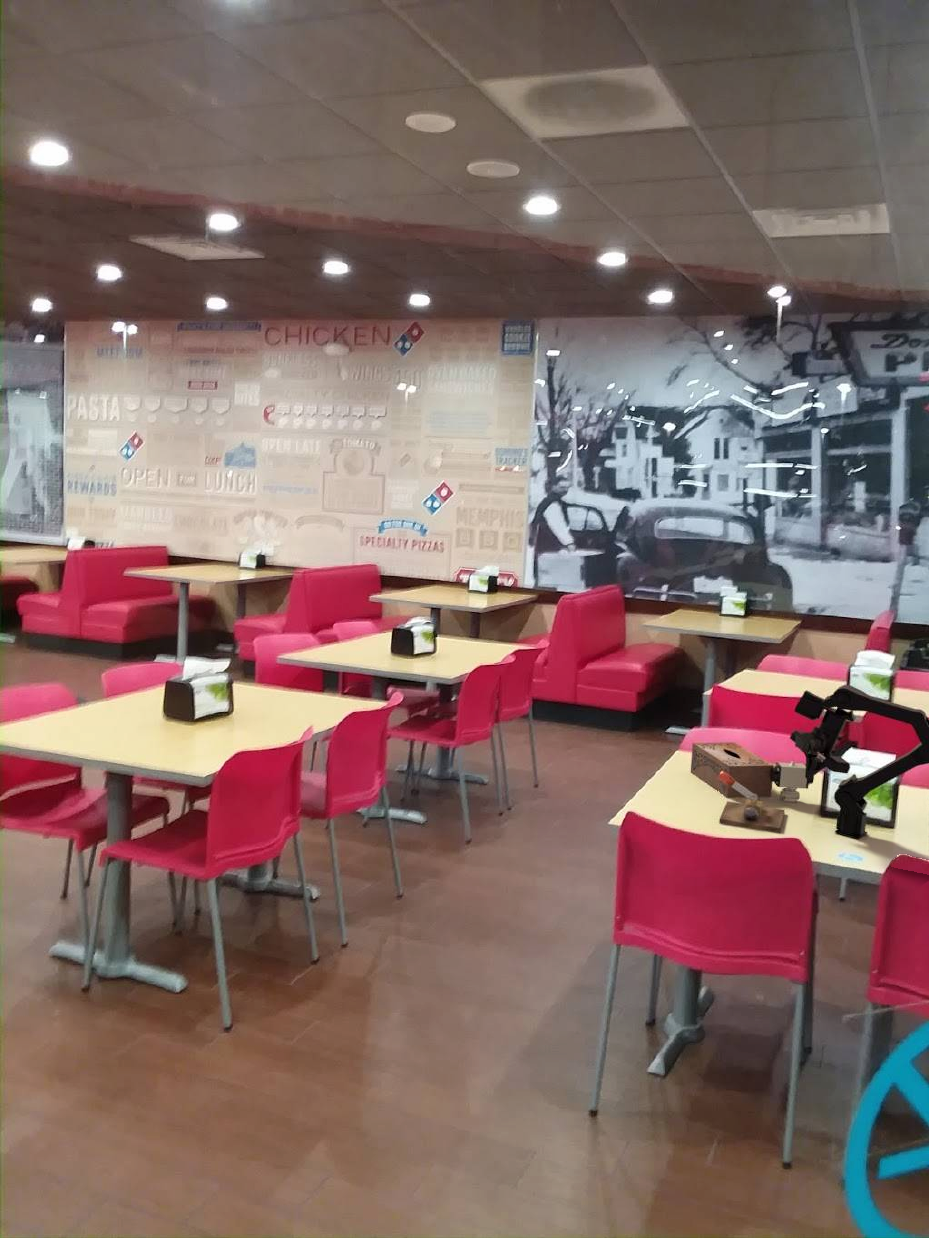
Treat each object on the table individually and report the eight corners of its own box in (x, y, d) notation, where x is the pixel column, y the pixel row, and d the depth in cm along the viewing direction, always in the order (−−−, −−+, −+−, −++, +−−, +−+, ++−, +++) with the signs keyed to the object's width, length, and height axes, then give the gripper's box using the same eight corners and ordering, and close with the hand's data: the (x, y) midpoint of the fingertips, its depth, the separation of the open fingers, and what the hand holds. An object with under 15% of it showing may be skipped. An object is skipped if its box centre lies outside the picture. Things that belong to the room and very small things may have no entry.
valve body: (762, 810, 292) (764, 791, 291) (758, 823, 281) (760, 803, 280) (746, 808, 294) (748, 788, 293) (742, 821, 283) (743, 800, 282)
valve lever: (759, 795, 287) (723, 769, 290) (759, 798, 285) (722, 771, 288) (754, 802, 288) (717, 776, 291) (753, 805, 286) (716, 778, 288)
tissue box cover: (690, 773, 330) (692, 742, 328) (731, 772, 333) (734, 742, 332) (726, 798, 305) (729, 766, 304) (771, 797, 308) (773, 765, 307)
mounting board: (784, 813, 292) (784, 809, 292) (779, 832, 277) (780, 828, 277) (726, 805, 298) (727, 801, 298) (719, 822, 282) (719, 818, 282)
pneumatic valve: (811, 804, 302) (815, 764, 300) (771, 801, 303) (774, 762, 301) (806, 798, 308) (810, 759, 306) (766, 796, 308) (770, 757, 307)
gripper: (786, 709, 282) (764, 758, 287) (830, 742, 266) (806, 793, 271) (816, 714, 287) (794, 762, 292) (861, 746, 271) (837, 797, 276)
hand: (807, 778), depth 282 cm, fingers closed
